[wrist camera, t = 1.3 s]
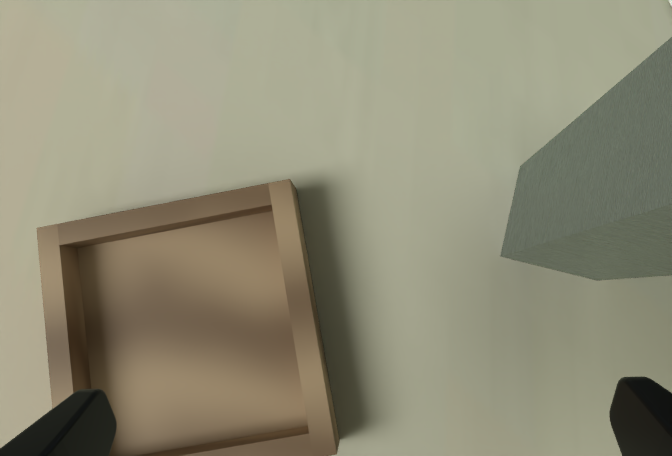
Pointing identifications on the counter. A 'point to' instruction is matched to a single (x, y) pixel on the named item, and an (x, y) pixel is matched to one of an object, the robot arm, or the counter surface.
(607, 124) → the grey tall block
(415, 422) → the counter surface
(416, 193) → the counter surface
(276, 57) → the counter surface
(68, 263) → the tray
